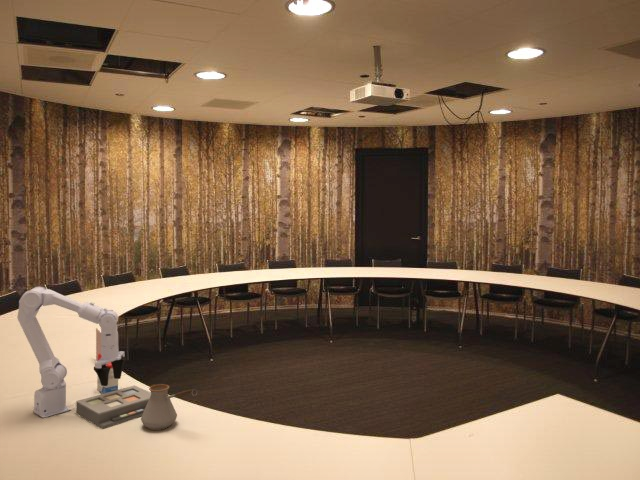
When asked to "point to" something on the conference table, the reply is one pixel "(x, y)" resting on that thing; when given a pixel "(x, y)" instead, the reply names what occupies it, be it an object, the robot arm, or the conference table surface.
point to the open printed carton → (98, 343)
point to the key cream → (113, 404)
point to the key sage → (95, 401)
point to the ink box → (111, 380)
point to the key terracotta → (130, 399)
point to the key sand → (113, 397)
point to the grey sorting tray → (116, 414)
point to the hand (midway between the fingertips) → (111, 382)
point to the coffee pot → (160, 408)
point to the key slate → (129, 392)
